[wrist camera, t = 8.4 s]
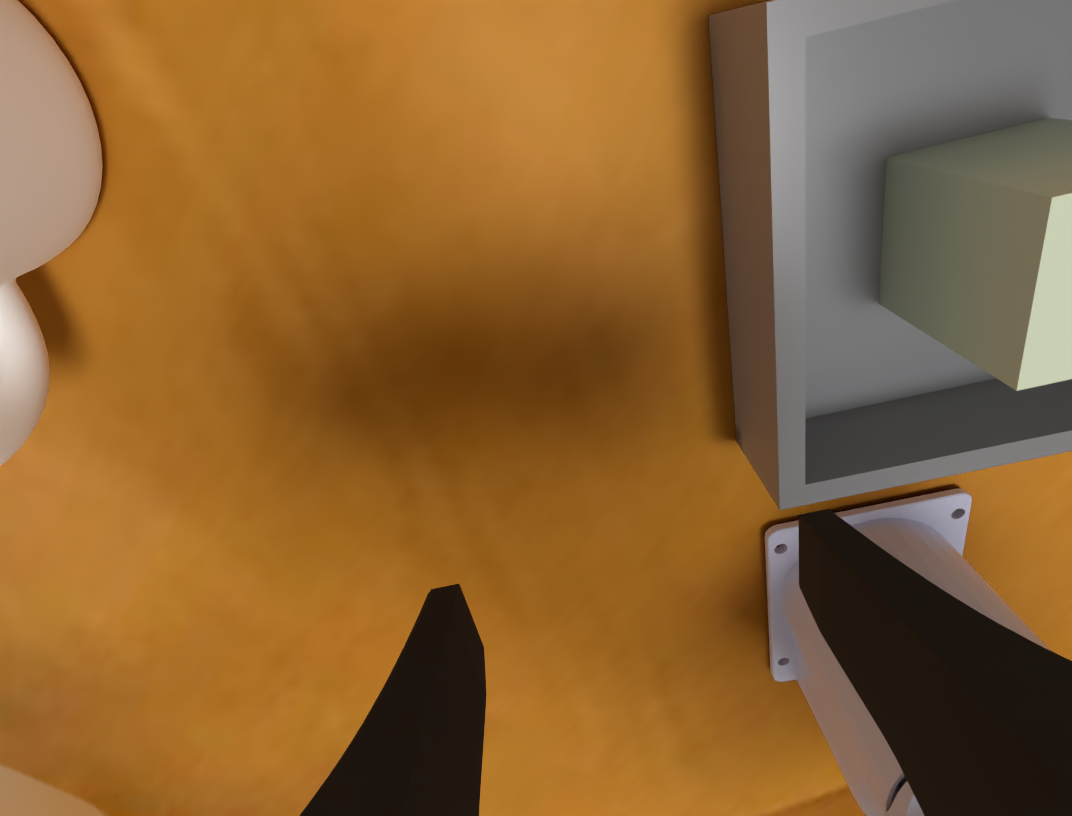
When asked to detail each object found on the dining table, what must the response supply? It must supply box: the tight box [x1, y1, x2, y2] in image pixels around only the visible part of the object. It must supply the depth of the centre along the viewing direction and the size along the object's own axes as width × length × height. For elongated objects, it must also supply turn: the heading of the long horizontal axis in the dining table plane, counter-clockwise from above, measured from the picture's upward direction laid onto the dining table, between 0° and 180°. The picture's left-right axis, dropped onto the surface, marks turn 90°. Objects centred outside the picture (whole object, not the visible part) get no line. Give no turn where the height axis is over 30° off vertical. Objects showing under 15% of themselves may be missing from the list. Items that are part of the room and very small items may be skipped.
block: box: [879, 118, 1072, 391], centre depth 16 cm, size 4×4×6 cm
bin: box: [708, 0, 1072, 510], centre depth 17 cm, size 14×14×4 cm
